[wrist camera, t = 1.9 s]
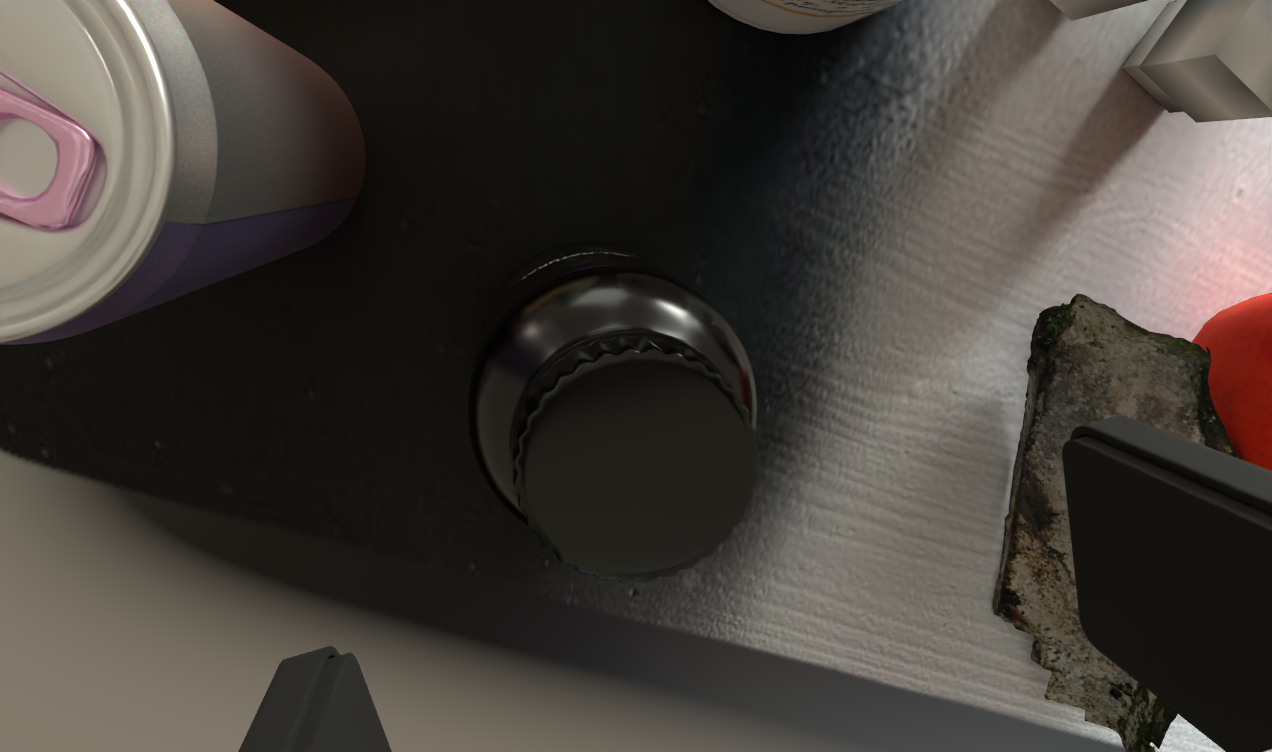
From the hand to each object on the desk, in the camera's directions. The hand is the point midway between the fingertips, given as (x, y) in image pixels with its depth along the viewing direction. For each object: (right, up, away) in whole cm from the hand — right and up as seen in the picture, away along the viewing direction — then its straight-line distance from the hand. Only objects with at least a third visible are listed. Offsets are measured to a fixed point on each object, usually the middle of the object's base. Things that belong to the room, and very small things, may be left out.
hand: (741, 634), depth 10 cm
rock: (+19, -1, +15) cm, 24 cm away
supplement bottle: (-3, +4, +17) cm, 18 cm away
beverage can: (-12, +10, +14) cm, 21 cm away
